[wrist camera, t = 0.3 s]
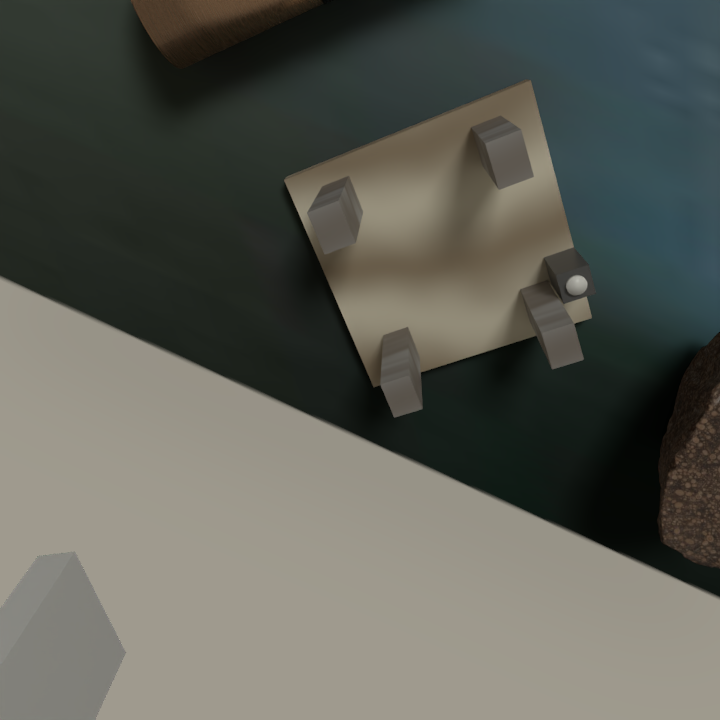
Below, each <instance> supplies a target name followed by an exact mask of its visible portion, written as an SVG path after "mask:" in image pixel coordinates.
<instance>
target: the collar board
mask: <svg viewBox="0 0 720 720" xmlns="http://www.w3.org/2000/svg"><path fill="white" fill-rule="evenodd" d="M284 181H285V183H286V186H287V188H288V190H289V193H290V195H291V197H292V200H293V202H294V204H295V207H296V209H297V211H298V213H299V216H300V218H301V220H302V223H303V225H304V227H305V230H306V232H307V234H308V237H309V239H310V241H311V243H312V246H313V248H314V250H315V253H316V255H317V257H318V260H319V262H320V264H321V267H322V269H323V271H324V274H325V276H326V278H327V280H328V283H329V285H330V287H331V290H332V292H333V294H334V297H335V299H336V301H337V304H338V306H339V308H340V311H341V313H342V315H343V317H344V320H345V322H346V324H347V327H348V329H349V331H350V334H351V336H352V338H353V341H354V343H355V345H356V347H357V350H358V352H359V354H360V357H361V359H362V361H363V364H364V366H365V368H366V371H367V373H368V375H369V378H370V380H371V382H372V384H373V387H376V386H379V385H381V388H382V390H383V392H384V395H385V397H386V399H387V402H388V404H389V406H390V409H391V411H392V413H393V416H394V417H398V416H401V415H404V414H407V413H411V412H414V411H417V410H421V409H423V407H422V389H421V372H423V371H427V370H430V369H433V368H436V367H439V366H442V365H446V364H449V363H452V362H455V361H458V360H461V359H464V358H468V357H471V356H474V355H477V354H480V353H483V352H486V351H490V350H493V349H496V348H499V347H502V346H505V345H508V344H512V343H515V342H518V341H521V340H524V339H527V338H530V337H534V336H537V338H538V340H539V342H540V344H541V346H542V348H543V351H544V353H545V355H546V357H547V359H548V361H549V363H550V366H551V368H552V369H555V368H558V367H562V366H565V365H568V364H571V363H575V362H578V361H581V360H584V358H583V355H582V351H581V347H580V344H579V340H578V336H577V333H576V329H575V325H574V324H575V323H578V322H581V321H584V320H587V319H590V318H592V316H591V312H590V308H589V304H588V301H587V297H584V298H581V299H578V300H575V301H572V302H568V303H565V304H563V302H562V300H561V299H560V297H559V296H558V294H557V292H556V291H555V289H554V288H553V286H552V285H551V281H550V278H549V274H548V271H547V267H546V264H545V260H544V257H547V256H550V255H553V254H555V253H558V252H561V251H564V250H567V249H570V248H573V247H574V246H573V243H572V239H571V235H570V231H569V227H568V223H567V219H566V215H565V212H564V208H563V204H562V200H561V196H560V192H559V188H558V184H557V181H556V177H555V173H554V169H553V165H552V161H551V157H550V154H549V150H548V146H547V142H546V138H545V134H544V130H543V126H542V123H541V119H540V115H539V111H538V107H537V103H536V99H535V95H534V92H533V88H532V84H531V80H524V81H522V82H519V83H517V84H514V85H512V86H509V87H507V88H504V89H502V90H499V91H497V92H495V93H492V94H490V95H487V96H485V97H482V98H480V99H477V100H475V101H472V102H470V103H467V104H465V105H462V106H460V107H458V108H455V109H453V110H450V111H448V112H445V113H443V114H440V115H438V116H435V117H433V118H430V119H428V120H425V121H423V122H421V123H418V124H416V125H413V126H411V127H408V128H406V129H403V130H401V131H398V132H396V133H393V134H391V135H388V136H386V137H383V138H381V139H379V140H376V141H374V142H371V143H369V144H366V145H364V146H361V147H359V148H356V149H354V150H351V151H349V152H346V153H344V154H342V155H339V156H337V157H334V158H332V159H329V160H327V161H324V162H322V163H319V164H317V165H314V166H312V167H309V168H307V169H305V170H302V171H300V172H297V173H295V174H292V175H290V176H287V177H286V178H285V180H284Z"/></svg>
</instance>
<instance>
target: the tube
mask: <svg viewBox="0 0 720 720" xmlns="http://www.w3.org/2000/svg"><path fill="white" fill-rule="evenodd" d="M331 1H333V0H131V2H132V4H133V6H134V9H135V11H136V13H137V15H138V17H139V19H140V20H141V22H142V24H143V26H144V28H145V29H146V31H147V33H148V34H149V36H150V37H151V39H152V41H153V42H154V43H155V45H156V46H157V48H158V49H159V50H160V52H161V53H162V54H163V55H164V56H165V57H166V59H167V60H168V61H169V62H170V63H172V64H173V65H174V66H176V67H177V68H180V69H183V68H185V67H187V66H190V65H192V64H194V63H196V62H198V61H200V60H203V59H205V58H207V57H209V56H211V55H213V54H216V53H218V52H220V51H222V50H224V49H226V48H229V47H231V46H233V45H235V44H237V43H239V42H241V41H244V40H246V39H248V38H250V37H252V36H254V35H257V34H259V33H261V32H263V31H265V30H267V29H270V28H272V27H274V26H276V25H278V24H280V23H283V22H285V21H287V20H289V19H291V18H293V17H296V16H298V15H300V14H302V13H304V12H306V11H308V10H311V9H313V8H315V7H317V6H319V5H321V4H327V3H329V2H331Z"/></svg>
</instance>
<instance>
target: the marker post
mask: <svg viewBox="0 0 720 720" xmlns="http://www.w3.org/2000/svg"><path fill="white" fill-rule="evenodd" d="M544 260H545V264H546V267H547V271H548V274H549V278H550V281H551V285H552V286H553V288H554V289H555V291H556V292H557V294H558V296H559V297H560V299H561V300H562V302H563V304H565V303H568V302H572V301H575V300H578V299H581V298H584V297H587V296H590V295H593V294H596V292H595V288H594V284H593V280H592V276H591V272H590V268H589V264H588V263H587V262H586V261H585V260H584V259H583V257H582V256H581V255H580V254H579V253H578V252H577V250H576V249H575V248H574V247H573V248H570V249H567V250H564V251H561V252H558V253H555V254H553V255H550V256H547V257H544Z"/></svg>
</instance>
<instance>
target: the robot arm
mask: <svg viewBox="0 0 720 720" xmlns="http://www.w3.org/2000/svg"><path fill="white" fill-rule="evenodd" d="M125 653H126V652H125V650H124V648H123V646H122V644H121V642H120V640H119V638H118V636H117V634H116V632H115V630H114V628H113V626H112V624H111V622H110V621H109V618H108V616H107V614H106V613H105V610H104V608H103V606H102V605H101V603H100V601H99V599H98V597H97V595H96V593H95V591H94V589H93V587H92V585H91V583H90V581H89V579H88V577H87V575H86V573H85V571H84V569H83V567H82V565H81V563H80V561H79V559H78V557H77V555H76V553H75V552H68V553H61V554H51V555H43V556H38V557H37V558H36V560H35V561H34V562H33V564H32V565H31V567H30V568H29V570H28V571H27V572H26V574H25V575H24V576H23V578H22V579H21V581H20V582H19V583H18V585H17V586H16V588H15V589H14V590H13V592H12V593H11V594H10V596H9V597H8V599H7V600H6V602H5V603H4V604H3V606H2V607H1V609H0V720H95V719H96V717H97V714H98V712H99V710H100V708H101V706H102V703H103V701H104V699H105V697H106V695H107V693H108V690H109V688H110V686H111V684H112V681H113V680H114V677H115V675H116V673H117V671H118V669H119V666H120V664H121V662H122V660H123V657H124V655H125Z"/></svg>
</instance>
